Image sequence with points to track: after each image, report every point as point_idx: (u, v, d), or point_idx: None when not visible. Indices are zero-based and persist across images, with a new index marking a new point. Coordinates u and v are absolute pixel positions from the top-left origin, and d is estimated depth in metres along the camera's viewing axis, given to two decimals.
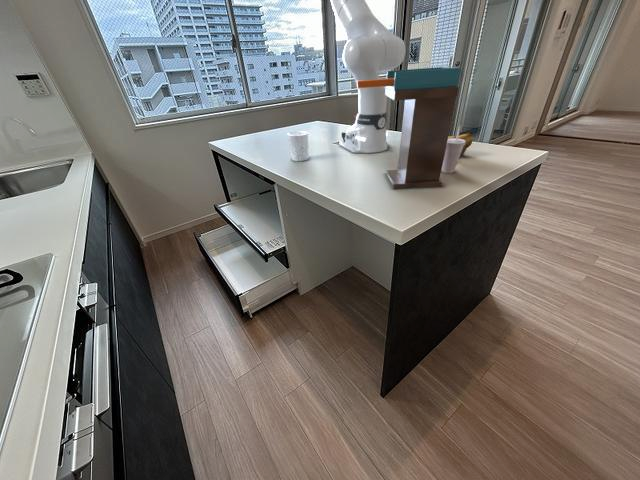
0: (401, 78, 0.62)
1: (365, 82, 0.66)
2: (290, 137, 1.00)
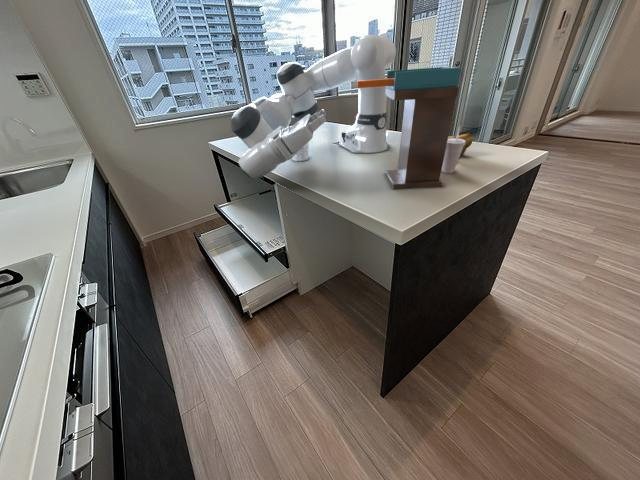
0: (401, 78, 0.62)
1: (365, 82, 0.66)
2: None
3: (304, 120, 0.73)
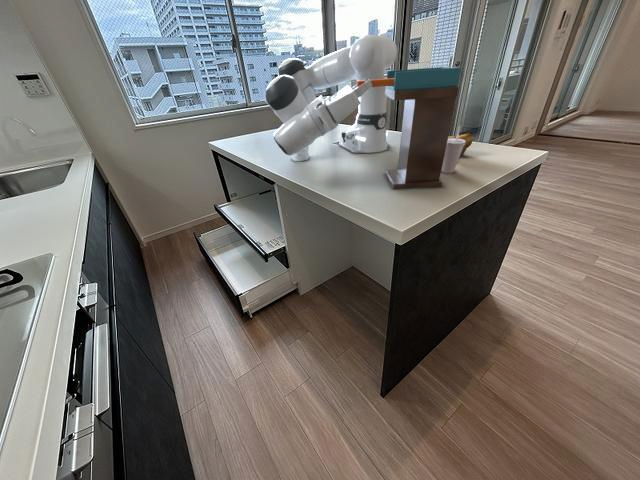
0: (401, 78, 0.62)
1: None
2: None
3: (347, 89, 0.68)
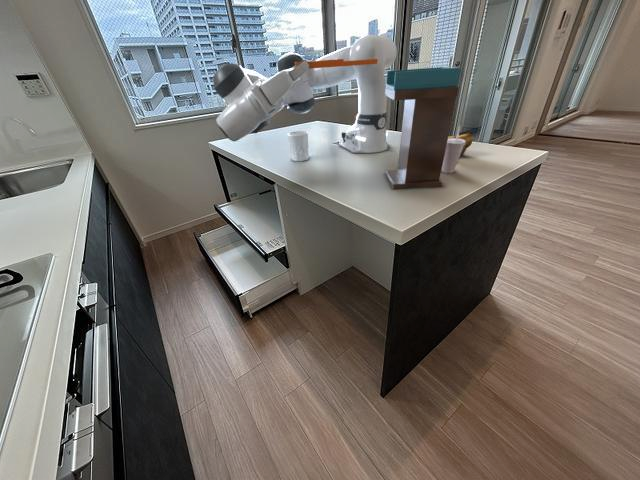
0: (401, 78, 0.62)
1: None
2: (290, 137, 1.00)
3: None
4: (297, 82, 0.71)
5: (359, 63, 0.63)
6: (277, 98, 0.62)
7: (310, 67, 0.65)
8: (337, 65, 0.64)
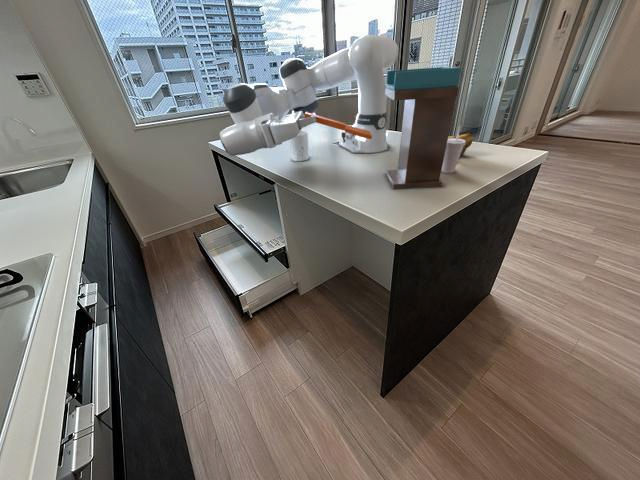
0: (401, 78, 0.62)
1: None
2: None
3: (295, 116, 0.75)
4: None
5: (357, 134, 0.74)
6: (282, 141, 0.70)
7: (316, 121, 0.74)
8: (339, 128, 0.75)
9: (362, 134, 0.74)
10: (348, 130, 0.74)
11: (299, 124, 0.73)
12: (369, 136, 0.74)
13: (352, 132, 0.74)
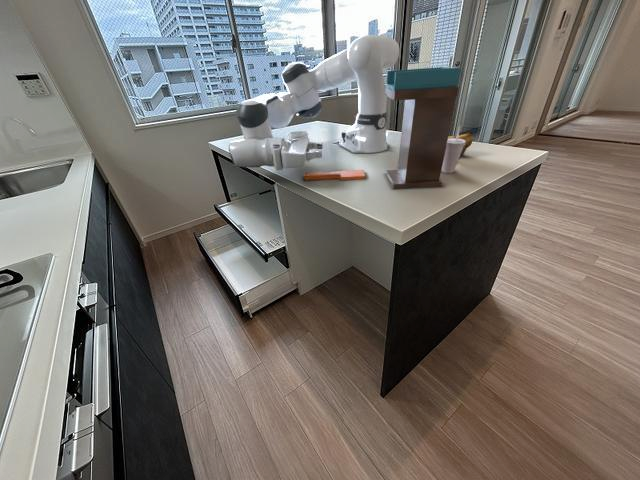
0: (401, 78, 0.62)
1: (310, 176, 0.87)
2: (290, 137, 1.00)
3: (304, 144, 0.83)
4: None
5: (352, 178, 0.85)
6: (289, 167, 0.77)
7: (315, 178, 0.87)
8: (336, 177, 0.87)
9: (356, 177, 0.85)
10: (343, 178, 0.85)
11: None
12: (363, 177, 0.85)
13: (347, 178, 0.85)
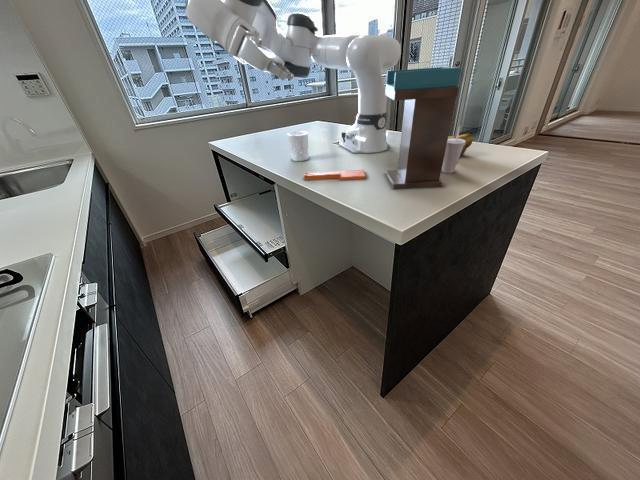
0: (401, 78, 0.62)
1: (310, 176, 0.87)
2: (290, 137, 1.00)
3: (275, 57, 0.71)
4: None
5: (352, 178, 0.85)
6: (244, 59, 0.63)
7: (315, 178, 0.87)
8: (336, 177, 0.87)
9: (356, 177, 0.85)
10: (343, 178, 0.85)
11: None
12: (363, 177, 0.85)
13: (347, 178, 0.85)
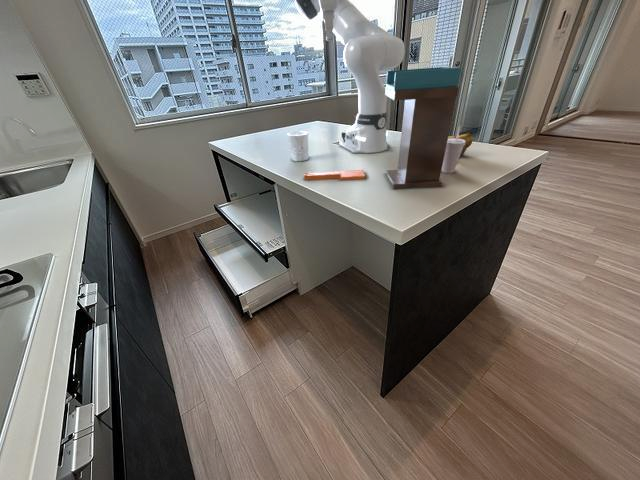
0: (401, 78, 0.62)
1: (310, 176, 0.87)
2: (290, 137, 1.00)
3: None
4: None
5: (352, 178, 0.85)
6: None
7: (315, 178, 0.87)
8: (336, 177, 0.87)
9: (356, 177, 0.85)
10: (343, 178, 0.85)
11: None
12: (363, 177, 0.85)
13: (347, 178, 0.85)
